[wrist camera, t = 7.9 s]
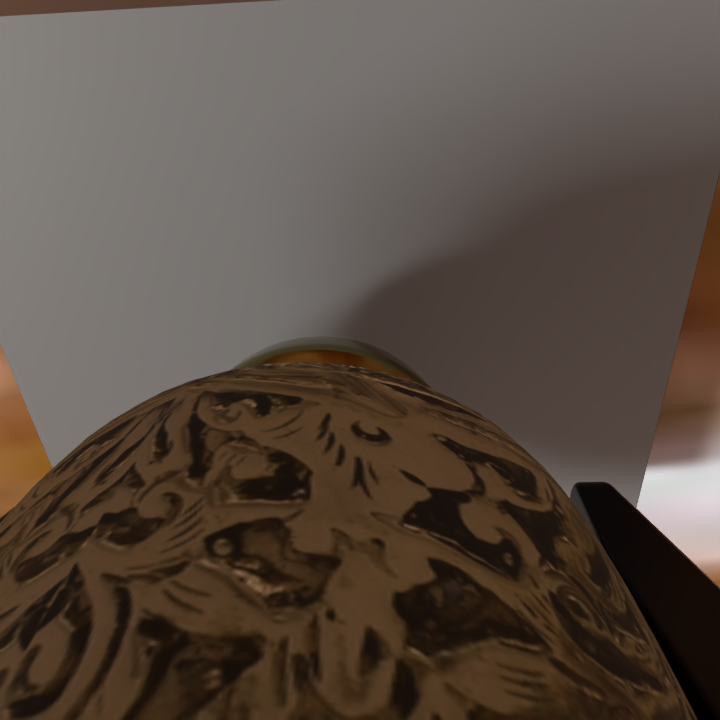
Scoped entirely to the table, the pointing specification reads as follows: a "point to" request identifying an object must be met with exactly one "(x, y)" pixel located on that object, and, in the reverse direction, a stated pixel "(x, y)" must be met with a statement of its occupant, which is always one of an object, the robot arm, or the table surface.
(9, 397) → the table surface
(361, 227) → the plinth
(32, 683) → the ornate bronze lamp shade
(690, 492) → the table surface
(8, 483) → the table surface
